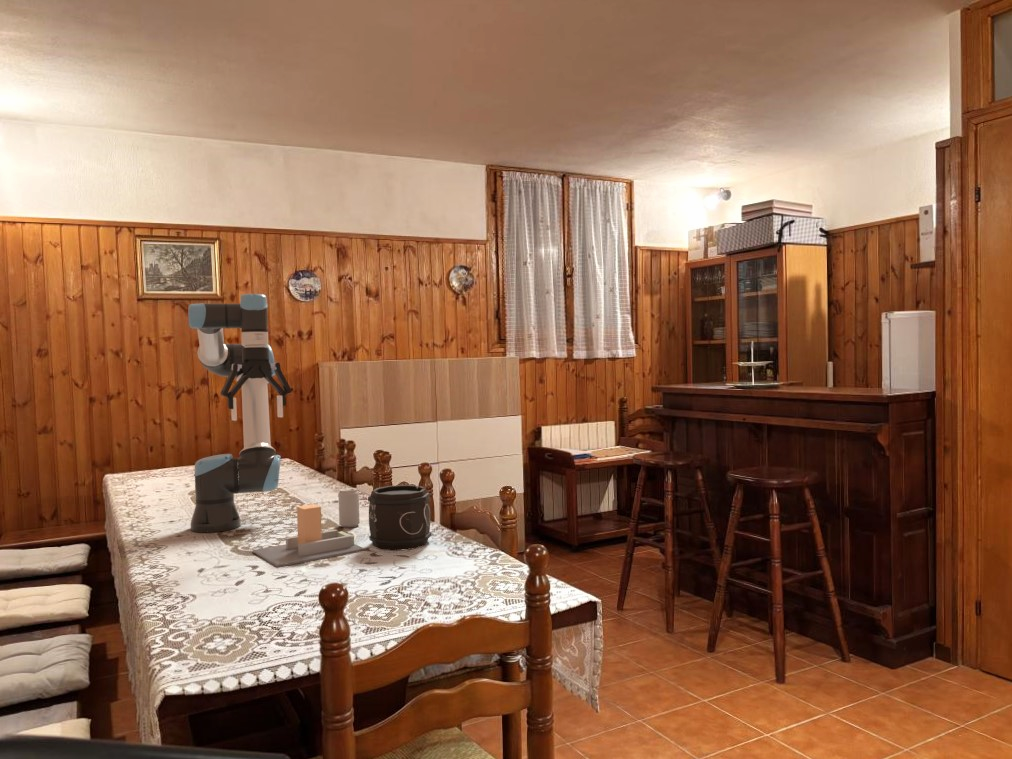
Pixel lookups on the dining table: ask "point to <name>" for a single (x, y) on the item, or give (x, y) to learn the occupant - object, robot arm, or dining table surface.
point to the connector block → (309, 523)
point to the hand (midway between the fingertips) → (257, 418)
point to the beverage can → (348, 507)
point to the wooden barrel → (399, 517)
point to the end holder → (310, 549)
